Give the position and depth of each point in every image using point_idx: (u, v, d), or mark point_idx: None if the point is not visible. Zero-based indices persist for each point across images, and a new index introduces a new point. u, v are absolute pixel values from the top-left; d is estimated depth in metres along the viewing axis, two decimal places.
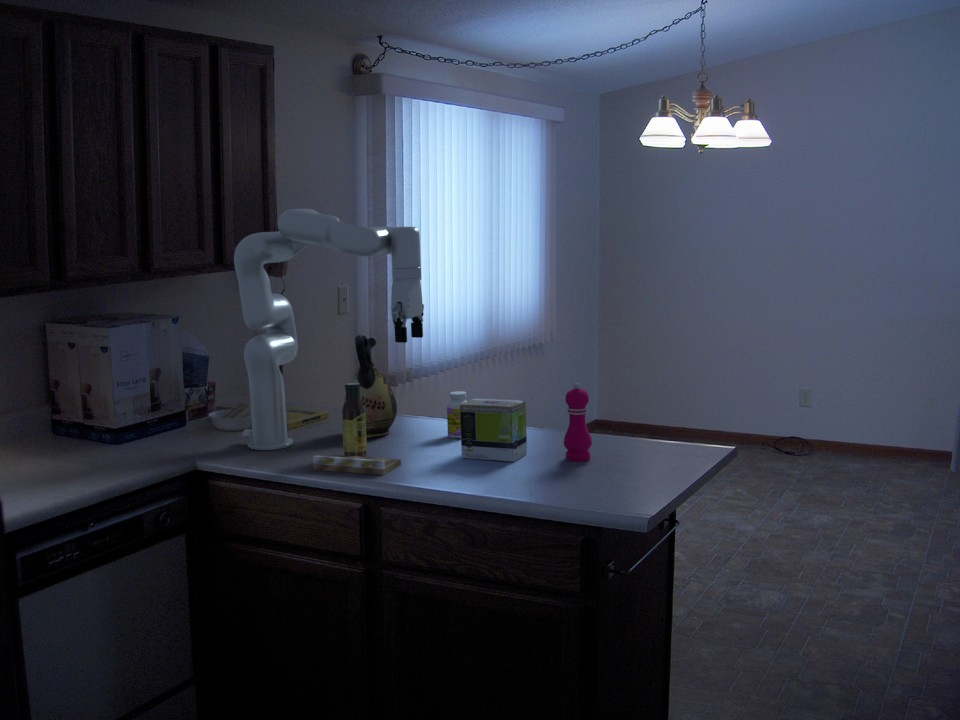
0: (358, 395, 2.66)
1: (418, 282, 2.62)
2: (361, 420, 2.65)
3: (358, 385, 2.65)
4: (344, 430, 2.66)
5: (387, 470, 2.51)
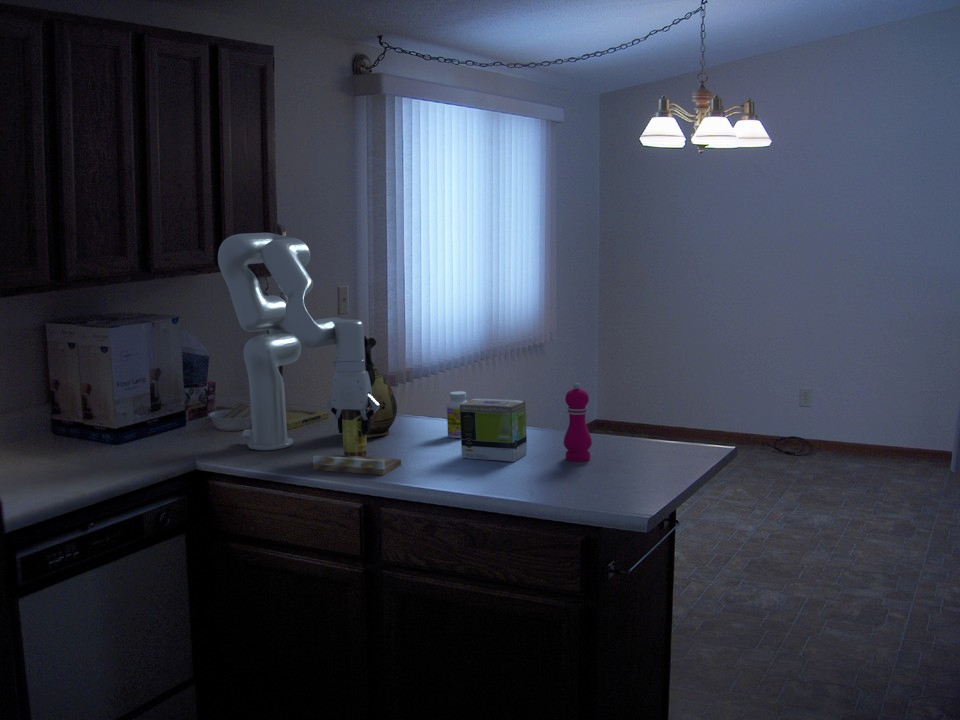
0: None
1: None
2: (361, 420, 2.65)
3: None
4: (344, 430, 2.66)
5: (387, 470, 2.51)
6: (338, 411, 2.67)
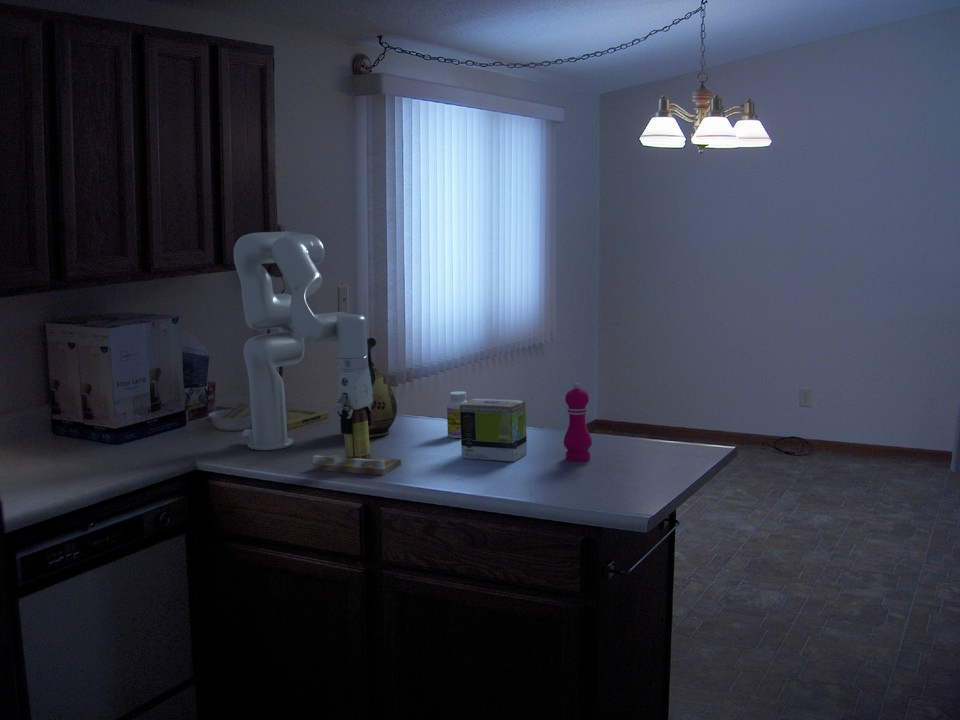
0: None
1: None
2: None
3: None
4: (363, 433, 2.54)
5: (387, 470, 2.51)
6: (351, 411, 2.51)
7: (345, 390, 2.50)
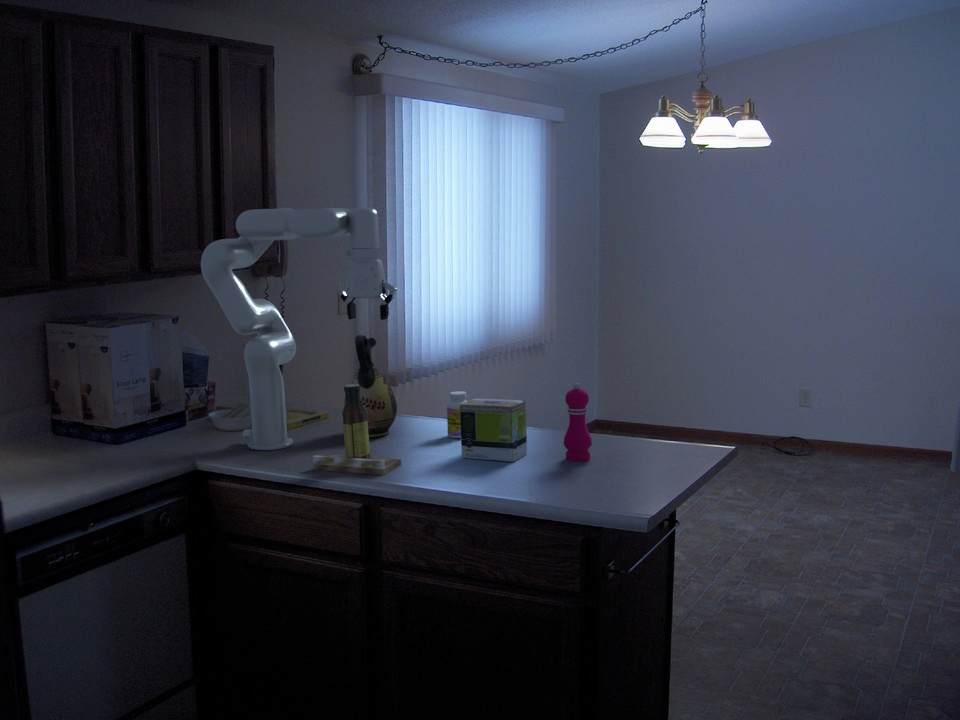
0: None
1: None
2: None
3: None
4: (362, 433, 2.54)
5: (387, 470, 2.51)
6: (349, 298, 2.69)
7: None
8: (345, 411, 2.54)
